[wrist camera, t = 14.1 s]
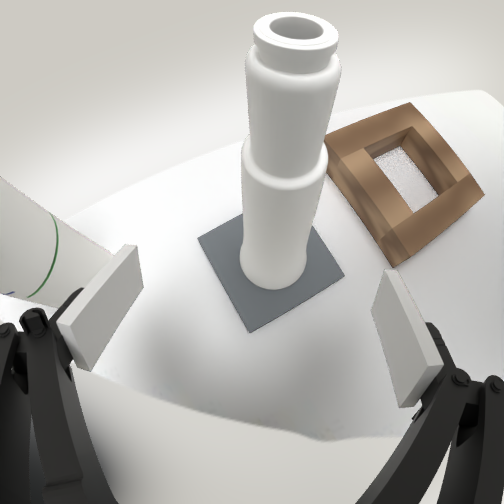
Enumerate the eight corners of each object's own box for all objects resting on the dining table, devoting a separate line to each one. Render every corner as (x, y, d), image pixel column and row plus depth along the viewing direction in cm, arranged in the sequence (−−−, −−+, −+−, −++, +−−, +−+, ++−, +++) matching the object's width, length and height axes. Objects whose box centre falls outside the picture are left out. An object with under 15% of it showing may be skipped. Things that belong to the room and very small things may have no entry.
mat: (343, 276, 27) (344, 275, 26) (249, 332, 26) (249, 332, 25) (287, 192, 29) (287, 189, 29) (198, 240, 28) (197, 238, 28)
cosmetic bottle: (241, 225, 28) (198, -8, 7) (305, 226, 28) (375, 1, 6) (238, 289, 26) (151, 105, 5) (306, 290, 26) (443, 121, 5)
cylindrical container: (68, 253, 28) (-108, 137, 5) (121, 243, 29) (-65, 78, 5) (68, 316, 26) (-143, 250, 2) (123, 312, 26) (-128, 219, 3)
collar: (467, 208, 28) (484, 194, 24) (392, 267, 27) (410, 257, 23) (399, 121, 32) (410, 102, 28) (316, 158, 30) (321, 136, 27)
